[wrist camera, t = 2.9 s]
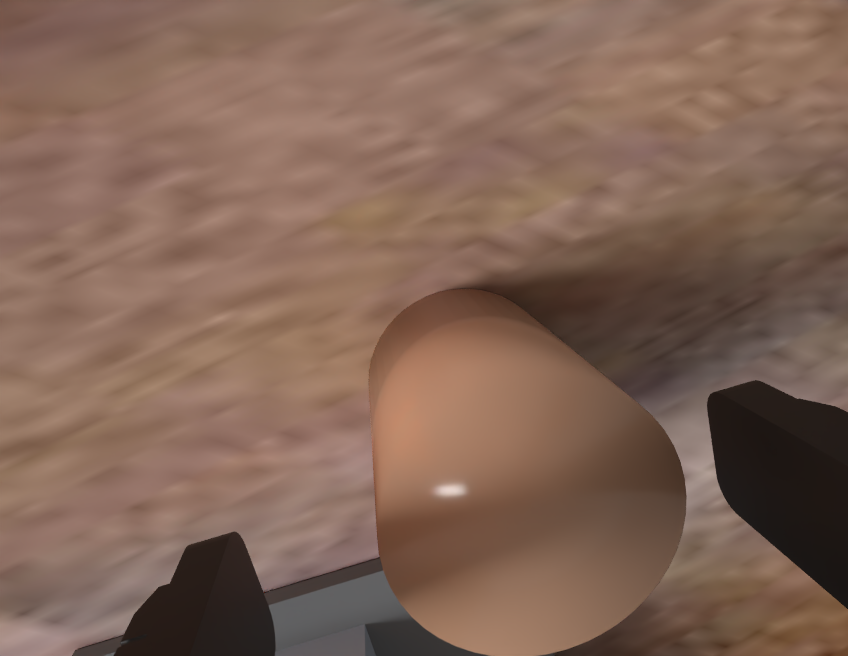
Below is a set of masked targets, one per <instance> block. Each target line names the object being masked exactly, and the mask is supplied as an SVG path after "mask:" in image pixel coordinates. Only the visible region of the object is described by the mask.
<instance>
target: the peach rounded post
mask: <svg viewBox="0 0 848 656" xmlns="http://www.w3.org/2000/svg"><path fill="white" fill-rule="evenodd" d="M369 401H370V418H371V436H372V454H373V471H374V489H375V506H376V524H377V539H378V549H379V556H380V560H381V563H382V567H383V571H384V574H385V576H386V578H387V581H388V583H389V585H390V588H391V589H392V591H393V593H394V594H395V596H396V598H397V599H398V601H399V602H400V604H401V605H402V606H403V607H404V608H405V610H406V611H407V612H408V613H409V614H410V616H411V617H412V618H413V619H415V620H416V621H417V622H418V623H419V624H420V625H421V626H422V627H424V628H425V629H426V630H428V631H429V632H431V633H432V634H434V635H435V636H437V637H438V638H440V639H442V640H444V641H446V642H448V643H450V644H452V645H454V646H456V647H459V648H462V649H465V650H468V651H471V652H475V653H480V654H485V655H490V656H539V655H546V654H551V653H554V652H558V651H562V650H566V649H569V648H572V647H574V646H577V645H580V644H582V643H585V642H587V641H589V640H591V639H593V638H595V637H597V636H599V635H601V634H603V633H604V632H606V631H608V630H609V629H611V628H612V627H614V626H615V625H617V624H619V623H620V622H621V621H622V620H624V619H625V618H626V617H627V616H629V615H630V614H631V613H632V612H633V611H634V610H635V609H636V608H637V607H638V606H639V605H640V604H641V603H642V602H643V601H644V600H646V599H647V597H648V596H649V595H650V594H651V592H652V591H653V590H654V589H655V587H656V586H657V585H658V584H659V582H660V580H661V579H662V577H663V576H664V574H665V572H666V571H667V569H668V568H669V566H670V564H671V561H672V559H673V557H674V555H675V553H676V551H677V548H678V545H679V542H680V539H681V535H682V532H683V526H684V521H685V516H686V488H685V479H684V475H683V470H682V466H681V462H680V460H679V457H678V455H677V453H676V450H675V448H674V445H673V444H672V442H671V440H670V439H669V437H668V435H667V434H666V432H665V430H664V429H663V428H662V427H661V425H660V424H659V423H658V422H657V421H656V419H655V418H654V417H653V416H652V415H651V414H650V413H649V412H648V411H646V410H645V409H644V408H643V407H642V406H641V405H640V404H639V403H637V402H636V401H635V400H634V399H632V398H631V397H630V396H629V395H628V394H626V393H625V392H624V391H623V390H621V389H620V388H619V387H618V386H616V385H615V384H614V383H613V382H612V381H610V380H609V379H608V378H607V377H605V376H604V375H603V374H602V373H601V372H599V371H598V370H597V369H596V368H594V367H593V366H592V365H591V364H589V363H588V362H587V361H586V360H585V359H583V358H582V357H581V356H580V355H578V354H577V353H576V352H575V351H573V350H572V349H571V348H570V347H569V346H567V345H566V344H565V343H564V342H562V341H561V340H560V339H559V338H558V337H556V336H555V335H554V334H553V333H551V332H550V331H549V330H548V329H546V328H545V327H544V326H543V325H542V324H540V323H539V322H538V321H537V320H535V319H534V318H533V317H532V316H531V315H529V314H528V313H527V312H526V311H524V310H523V309H522V308H521V307H519V306H518V305H516V304H515V303H513V302H512V301H510V300H509V299H506V298H504V297H502V296H500V295H498V294H495V293H491V292H488V291H483V290H478V289H452V290H446V291H442V292H438V293H435V294H432V295H429V296H426V297H424V298H422V299H421V300H419V301H417V302H415V303H413V304H412V305H410V306H409V307H407V308H406V309H404V310H403V311H402V312H401V313H400V314H399V315H398V316H397V317H396V318H395V319H394V320H393V321H392V322H391V323H390V324H389V326H388V327H387V328H386V330H385V331H384V333H383V334H382V336H381V337H380V339H379V341H378V343H377V345H376V347H375V350H374V353H373V356H372V359H371V364H370V369H369Z"/></svg>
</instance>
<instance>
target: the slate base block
mask: <svg viewBox="0 0 848 656" xmlns="http://www.w3.org/2000/svg"><path fill="white" fill-rule="evenodd" d="M275 656H376V654H375V652H374V649H373V646H372V643H371V640H370V638H369V635H368V632H367V629H366V626H365V624H364V625H360V626H357V627H354V628H351V629H347V630H344V631H341V632H338V633H334V634H331V635H328V636H324V637H321V638H318V639H315V640H311V641H308V642H305V643H302V644H298V645H295V646H292V647H289V648H285V649H282V650H279V651H276V652H275Z"/></svg>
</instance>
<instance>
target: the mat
mask: <svg viewBox="0 0 848 656" xmlns="http://www.w3.org/2000/svg"><path fill="white" fill-rule="evenodd" d="M264 595H265V598H266V601H267V603H268V606H269V609H270V611H271V615H272V619H273V624H274V630H275V641H276V648H275V652H276V651H279V650H282V649H285V648H289V647H292V646H295V645H298V644H302V643H305V642H308V641H311V640H315V639H318V638H321V637H324V636H328V635H331V634H334V633H338V632H341V631H344V630H347V629H351V628H354V627H357V626H360V625H364V624H365V626H366V629H367V632H368V635H369V638H370V640H371V643H372V646H373V649H374V652H375V654H376V656H490V655H485V654H480V653H475V652H471V651H468V650H465V649H462V648H459V647H456V646H454V645H452V644H450V643H448V642H446V641H444V640H442V639H440V638H438V637H437V636H435V635H434V634H432V633H431V632H429V631H428V630H426V629H425V628H424V627H422V626H421V625H420V624H419V623H418V622H417V621H416V620H415V619H413V618H412V617H411V616H410V614H409V613H408V612H407V611H406V610H405V608H404V607H403V606H402V605H401V604H400V602H399V601H398V599H397V598H396V596H395V594H394V593H393V591H392V589H391V588H390V585H389V583H388V581H387V578H386V576H385V574H384V571H383V567H382V563H381V560H380V558H378V559H375V560H372V561H368V562H365V563H362V564H358V565H355V566H352V567H349V568H345V569H342V570H339V571H335V572H332V573H329V574H325V575H322V576H319V577H316V578H312V579H309V580H306V581H302V582H299V583H296V584H292V585H289V586H286V587H283V588H279V589H276V590H273V591H269V592H266V593H264ZM122 638H123V636H121V637H118V638H114V639H111V640H108V641H104V642H101V643H98V644H95V645H91V646H88V647H85V648H81V649H78V650H75V652H74V653H73V655H72V656H114V654H115V652H116V650H117V648H118V647H121V640H122ZM539 656H555V655H554V653H551V654H546V655H539Z"/></svg>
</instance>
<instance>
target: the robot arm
mask: <svg viewBox="0 0 848 656" xmlns="http://www.w3.org/2000/svg"><path fill="white" fill-rule="evenodd" d="M707 410H708V417H709V425H710V432H711V439H712V446H713V453H714V460H715V467H716V474H717V479H718V483H719V486H720V489H721V491H722V493H723V495H724V497H725V499H726V501H727V502H728V504H729V505H730V507H731V508H732V509H733V510H734V511H735V512H736V513H737V514H738V515H739V516H740V517H741V518H742V519H743V520H745V521H746V522H747V523H748V524H749V525H750V526H752V527H753V528H754V529H755V530H756V531H757V532H759V533H760V534H761V535H762V536H763V537H764V538H766V539H767V540H768V541H769V542H770V543H771V544H773V545H774V546H775V547H776V548H777V549H778V550H780V551H781V552H782V553H783V554H784V555H785V556H787V557H788V558H789V559H790V560H791V561H792V562H794V563H795V564H796V565H797V566H798V567H799V568H801V569H802V570H803V571H804V572H805V573H806V574H808V575H809V576H810V577H811V578H812V579H813V580H815V581H816V582H817V583H818V584H819V585H820V586H822V587H823V588H824V589H825V590H826V591H827V592H828V593H830V594H831V595H832V596H833V597H834V598H835V599H837V600H838V601H839V602H840V603H841V604H842V605H844V606H845V607H846V608H847V609H848V412H846V411H844V410H842V409H840V408H837V407H835V406H831V405H826V404H821V403H817V402H812V401H808V400H803V399H796V398H794V397H792V396H790V395H788V394H786V393H784V392H782V391H780V390H778V389H776V388H774V387H772V386H770V385H768V384H765V383H763V382H761V381H757V380H755V381H751V382H747V383H744V384H740V385H737V386H734V387H730V388H727V389H723V390H720V391H717V392H713V393H711V394H710V396H709V398H708V402H707ZM275 648H276V641H275V630H274V624H273V619H272V615H271V611H270V609H269V606H268V603H267V601H266V598H265V595H264V593H263V590H262V588H261V585H260V582H259V580H258V577H257V575H256V572H255V569H254V567H253V564H252V561H251V559H250V556H249V554H248V551H247V548H246V546H245V544H244V541H243V539H242V538H241V536H240V535H239V534H238V533H237V532H231V533H228V534H225V535H221V536H218V537H214V538H211V539H208V540H204V541H201V542H197V543H194V544H191V545H188V546H187V547H186V549H185V551H184V553H183V555H182V557H181V560H180V562H179V564H178V566H177V569H176V571H175V573H174V575H173V578H172V580H171V582H170V584H167V585H163V586H160V587H158V589H157V590H156V591H155V592H154V593H153V594H152V595H151V596H150V597H149V598H148V599H147V601H146V602H145V603H144V604H143V605H142V606H141V607H140V608H139V609H138V610H137V612H136V613H135V614H134V616H133V618H132V620H131V622H130V624H129V626H128V628H127V630H126V632H125V634H124V636H123V638H122V640H121V647H118V648H117V650H116V652H115V654H114V656H275Z"/></svg>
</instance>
